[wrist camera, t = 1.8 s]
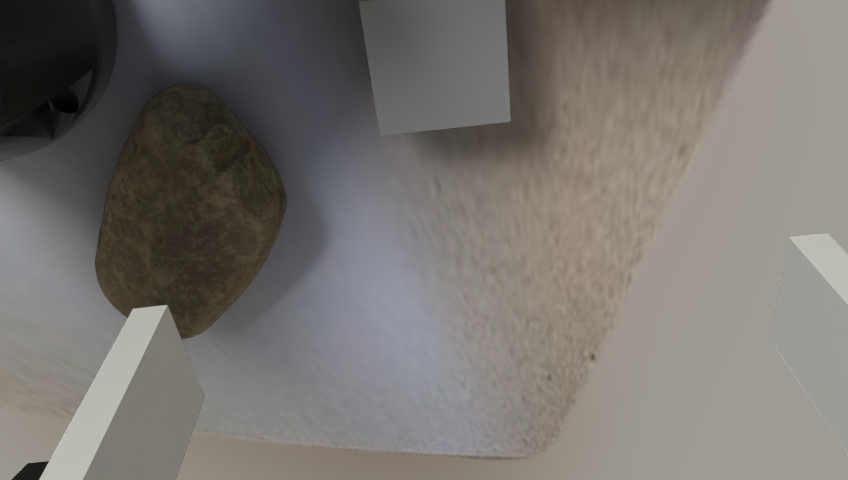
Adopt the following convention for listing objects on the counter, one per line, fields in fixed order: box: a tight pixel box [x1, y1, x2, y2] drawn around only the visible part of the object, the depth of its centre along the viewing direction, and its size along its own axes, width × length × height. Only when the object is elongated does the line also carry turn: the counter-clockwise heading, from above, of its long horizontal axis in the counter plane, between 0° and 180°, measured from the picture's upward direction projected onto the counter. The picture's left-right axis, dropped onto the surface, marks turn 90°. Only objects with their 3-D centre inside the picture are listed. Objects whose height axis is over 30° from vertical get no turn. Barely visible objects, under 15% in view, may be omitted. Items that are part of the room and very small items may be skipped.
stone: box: [95, 84, 287, 339], centre depth 38 cm, size 9×14×10 cm, turn 150°
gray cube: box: [358, 0, 511, 136], centre depth 32 cm, size 6×6×6 cm
